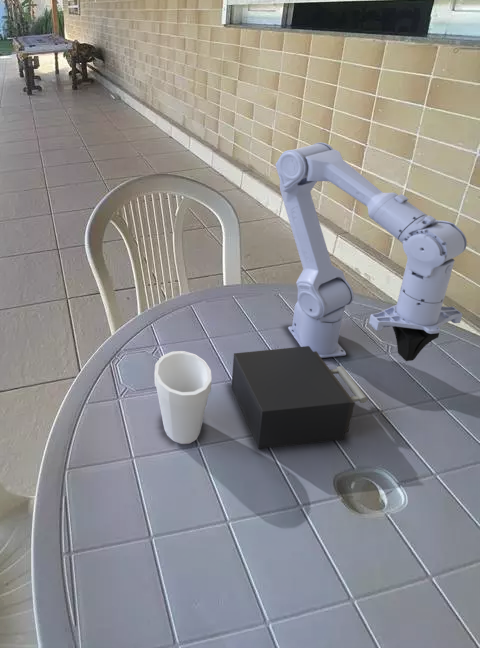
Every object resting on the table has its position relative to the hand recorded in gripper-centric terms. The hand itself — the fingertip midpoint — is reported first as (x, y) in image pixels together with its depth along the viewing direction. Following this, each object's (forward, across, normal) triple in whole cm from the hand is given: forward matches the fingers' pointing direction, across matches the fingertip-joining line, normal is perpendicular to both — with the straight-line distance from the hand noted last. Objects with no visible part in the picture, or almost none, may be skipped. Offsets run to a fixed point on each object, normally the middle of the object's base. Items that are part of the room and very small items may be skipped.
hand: (405, 356), depth 74 cm
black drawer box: (+10, -21, 0) cm, 23 cm away
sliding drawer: (+9, -17, 0) cm, 20 cm away
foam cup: (+11, -40, -1) cm, 41 cm away
